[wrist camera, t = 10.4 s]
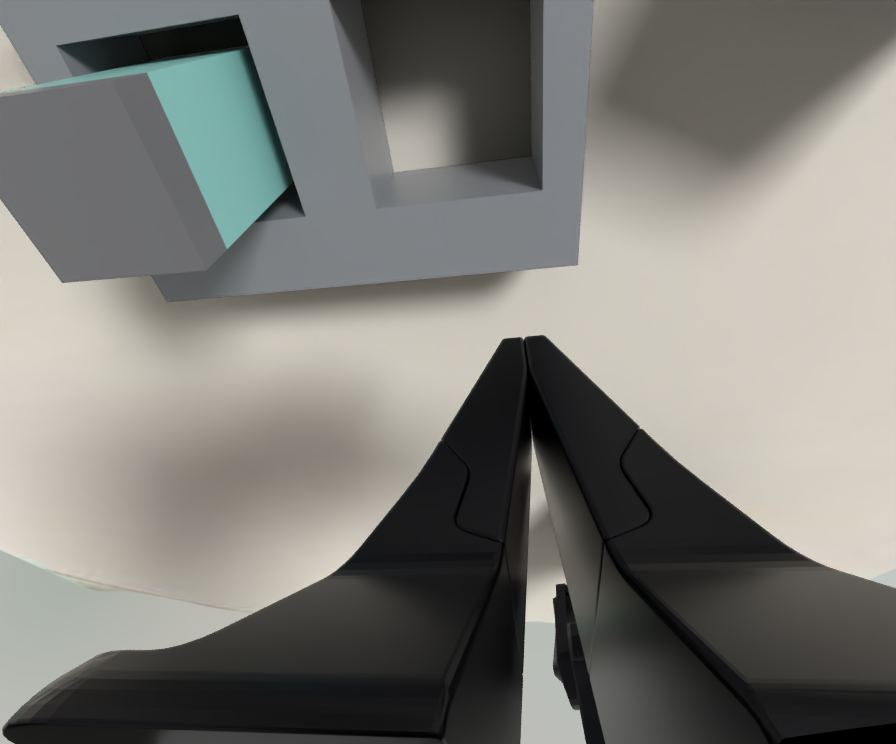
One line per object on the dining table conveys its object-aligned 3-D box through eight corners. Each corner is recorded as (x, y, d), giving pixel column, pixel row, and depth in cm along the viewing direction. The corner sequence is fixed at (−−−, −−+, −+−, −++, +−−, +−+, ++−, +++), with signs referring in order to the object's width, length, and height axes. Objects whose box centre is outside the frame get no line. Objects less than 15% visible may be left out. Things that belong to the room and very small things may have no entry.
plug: (312, 162, 18) (206, 270, 11) (219, 173, 19) (62, 282, 12) (276, 41, 16) (111, 81, 9) (170, 56, 16) (-68, 106, 9)
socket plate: (562, 221, 19) (577, 265, 16) (212, 257, 21) (167, 302, 18) (575, -175, 12) (607, -230, 9) (52, -67, 14) (-65, -83, 11)
